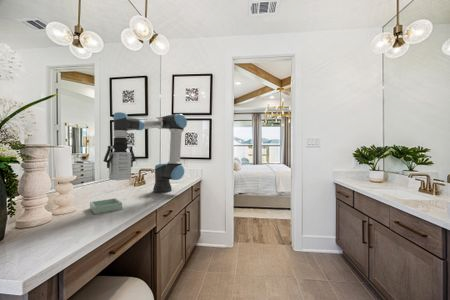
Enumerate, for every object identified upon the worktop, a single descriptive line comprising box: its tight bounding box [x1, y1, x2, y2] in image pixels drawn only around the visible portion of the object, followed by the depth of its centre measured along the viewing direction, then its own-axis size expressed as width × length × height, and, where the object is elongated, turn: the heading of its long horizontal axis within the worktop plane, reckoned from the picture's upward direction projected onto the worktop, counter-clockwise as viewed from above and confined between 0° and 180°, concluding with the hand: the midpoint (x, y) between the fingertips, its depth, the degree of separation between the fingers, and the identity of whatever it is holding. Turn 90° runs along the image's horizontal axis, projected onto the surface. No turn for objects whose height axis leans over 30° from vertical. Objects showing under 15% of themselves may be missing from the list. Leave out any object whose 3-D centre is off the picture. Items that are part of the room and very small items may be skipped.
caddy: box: [89, 197, 123, 215], centre depth 119 cm, size 14×15×4 cm
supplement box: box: [108, 151, 132, 181], centre depth 125 cm, size 10×9×17 cm
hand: (120, 172), depth 125 cm, fingers closed on supplement box, 11 cm apart
